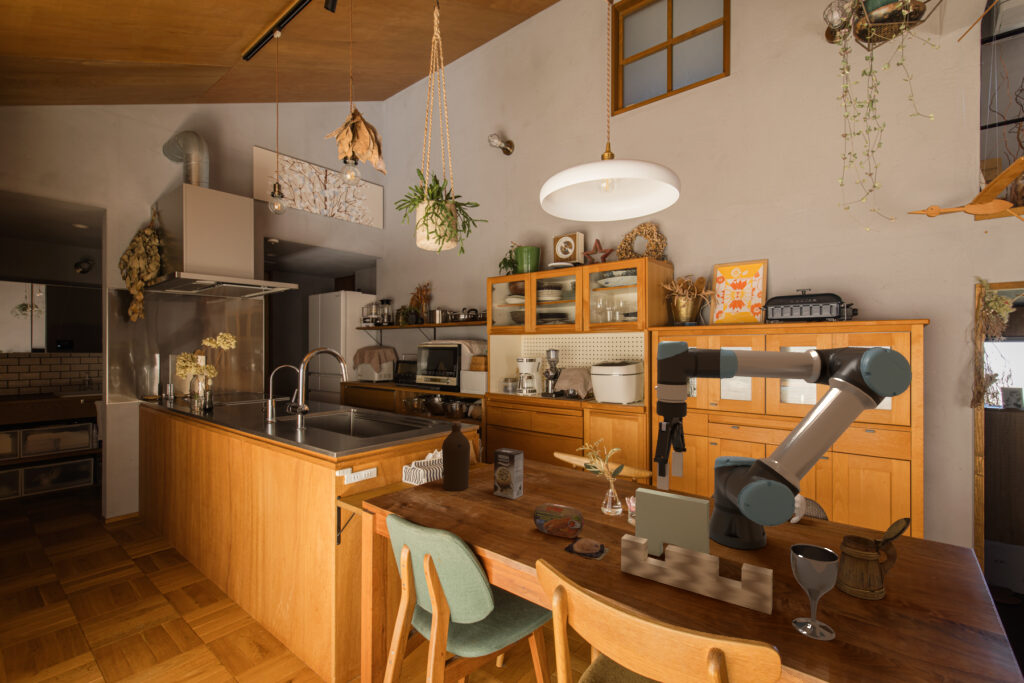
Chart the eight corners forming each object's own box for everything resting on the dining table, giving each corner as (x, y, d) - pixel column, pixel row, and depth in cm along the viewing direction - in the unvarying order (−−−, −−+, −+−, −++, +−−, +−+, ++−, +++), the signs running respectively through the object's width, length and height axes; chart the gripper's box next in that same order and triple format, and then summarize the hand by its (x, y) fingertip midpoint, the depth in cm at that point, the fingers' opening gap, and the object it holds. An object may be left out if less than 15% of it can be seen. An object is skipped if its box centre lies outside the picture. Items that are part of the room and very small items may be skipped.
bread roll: (611, 551, 125) (611, 538, 125) (599, 564, 118) (599, 549, 118) (574, 542, 131) (574, 529, 131) (561, 553, 124) (561, 539, 124)
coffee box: (492, 494, 169) (493, 450, 169) (503, 490, 174) (503, 447, 174) (513, 499, 164) (513, 453, 164) (523, 494, 169) (524, 450, 169)
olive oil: (475, 486, 178) (476, 421, 178) (455, 493, 170) (456, 425, 170) (456, 481, 185) (456, 418, 185) (435, 487, 176) (436, 421, 176)
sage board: (635, 550, 125) (635, 490, 125) (638, 546, 127) (639, 487, 127) (706, 568, 115) (707, 504, 115) (709, 564, 117) (709, 500, 117)
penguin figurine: (801, 497, 142) (758, 491, 150) (804, 525, 142) (761, 518, 150) (806, 492, 147) (765, 487, 155) (809, 520, 146) (767, 513, 154)
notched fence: (621, 571, 114) (621, 538, 114) (625, 566, 116) (625, 533, 116) (770, 614, 96) (771, 575, 96) (772, 607, 98) (772, 569, 98)
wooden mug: (916, 610, 98) (916, 525, 97) (837, 593, 104) (838, 512, 104) (905, 591, 105) (906, 511, 105) (833, 575, 112) (833, 501, 112)
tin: (532, 531, 137) (533, 502, 137) (537, 527, 140) (537, 499, 140) (581, 541, 130) (581, 511, 130) (585, 537, 133) (585, 507, 133)
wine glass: (794, 636, 89) (794, 557, 89) (786, 613, 96) (786, 540, 96) (843, 646, 86) (844, 564, 86) (831, 621, 94) (832, 547, 93)
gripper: (670, 394, 133) (668, 469, 134) (641, 404, 113) (640, 492, 113) (697, 397, 129) (696, 473, 129) (673, 407, 109) (672, 498, 109)
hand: (670, 482), depth 121 cm, fingers open, 13 cm apart
